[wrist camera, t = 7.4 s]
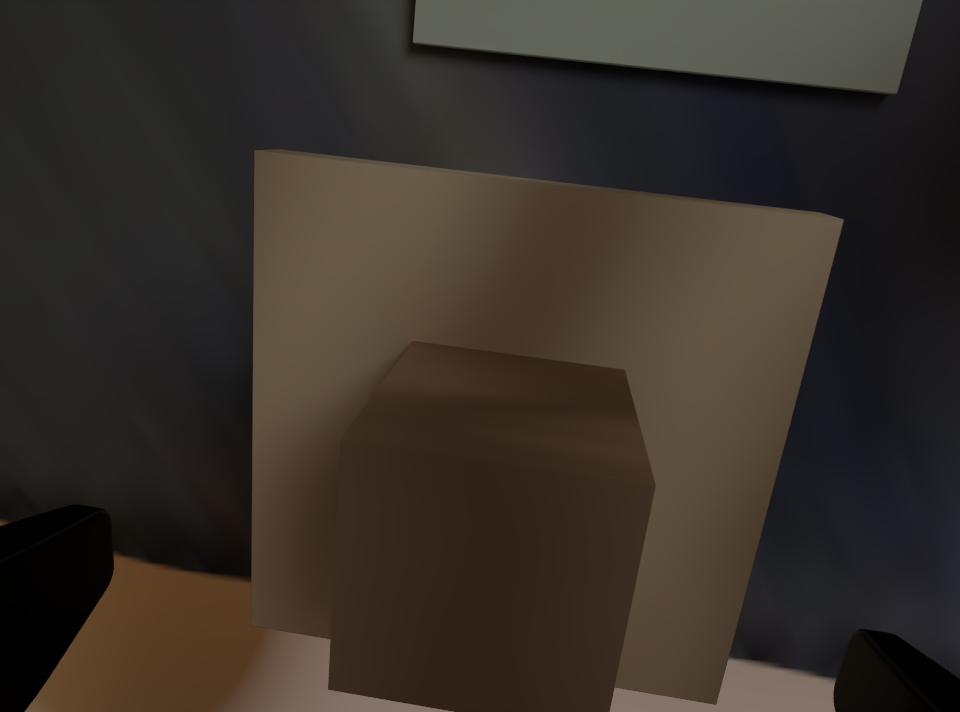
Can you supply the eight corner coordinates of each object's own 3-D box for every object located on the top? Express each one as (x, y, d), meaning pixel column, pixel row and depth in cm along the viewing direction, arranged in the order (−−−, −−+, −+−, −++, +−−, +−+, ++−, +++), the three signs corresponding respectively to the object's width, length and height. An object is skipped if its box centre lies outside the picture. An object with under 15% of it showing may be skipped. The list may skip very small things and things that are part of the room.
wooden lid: (820, 212, 11) (1007, 266, 7) (705, 666, 14) (778, 935, 9) (279, 149, 12) (91, 156, 7) (271, 594, 15) (132, 811, 10)
